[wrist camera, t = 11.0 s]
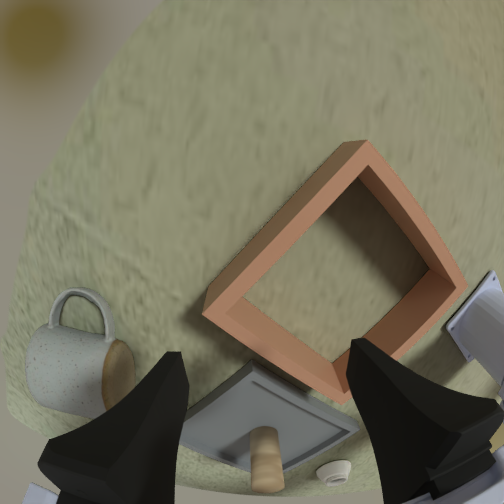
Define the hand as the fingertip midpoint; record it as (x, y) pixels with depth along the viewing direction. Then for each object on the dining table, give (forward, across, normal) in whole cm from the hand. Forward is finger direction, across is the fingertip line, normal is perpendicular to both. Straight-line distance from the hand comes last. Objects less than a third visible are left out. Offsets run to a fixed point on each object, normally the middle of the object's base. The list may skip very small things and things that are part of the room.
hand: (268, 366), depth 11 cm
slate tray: (+10, 0, +18) cm, 21 cm away
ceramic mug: (+10, +15, +6) cm, 19 cm away
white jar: (+10, -10, +31) cm, 34 cm away
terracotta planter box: (+10, -6, +1) cm, 12 cm away
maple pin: (+9, 0, +18) cm, 21 cm away
